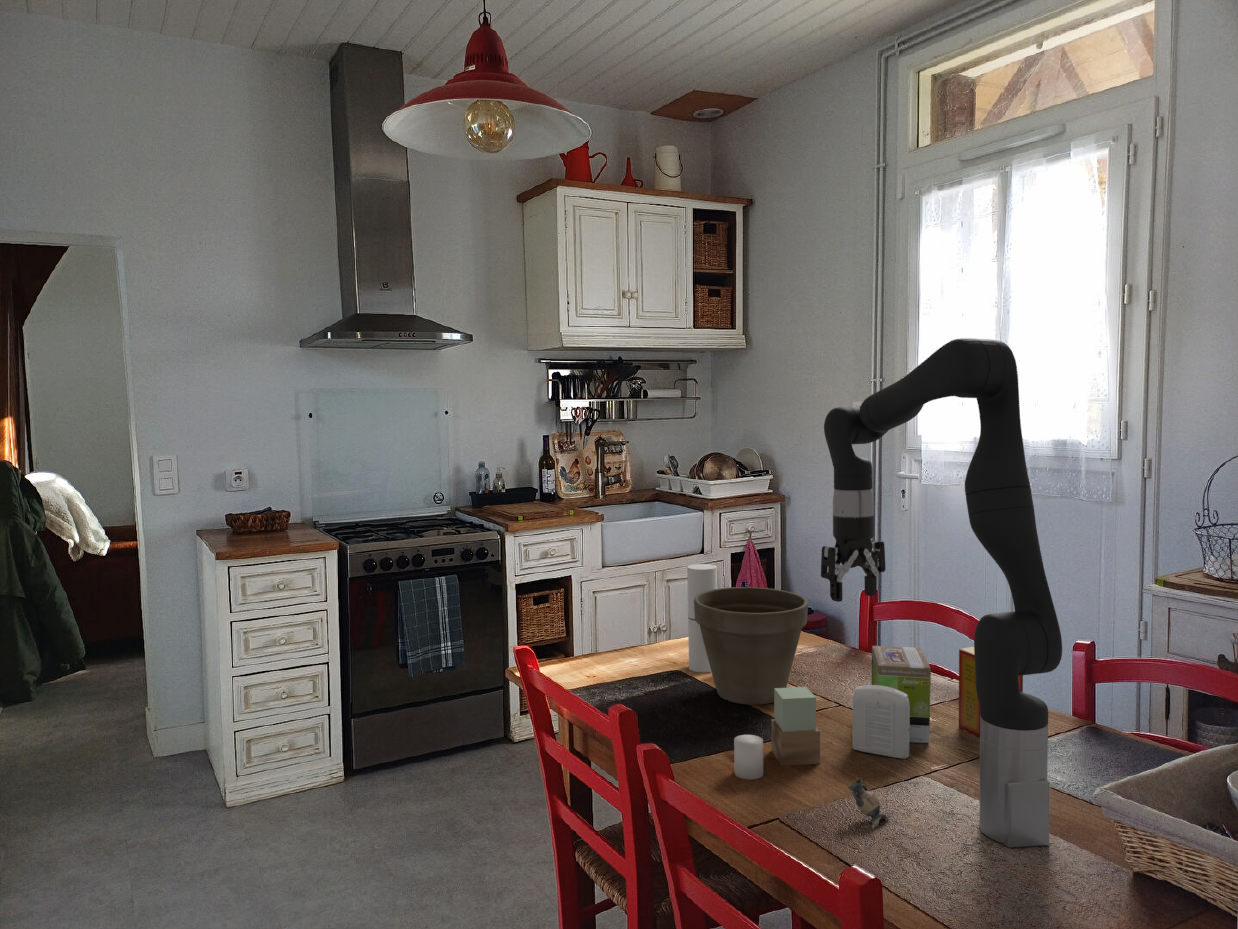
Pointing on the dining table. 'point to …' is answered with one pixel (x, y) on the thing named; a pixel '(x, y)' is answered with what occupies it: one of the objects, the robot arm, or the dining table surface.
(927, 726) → the tea box
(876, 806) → the animal figurine
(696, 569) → the cylindrical container
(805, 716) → the tower top
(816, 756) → the tower base
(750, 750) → the white cylinder peg
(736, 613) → the plant pot
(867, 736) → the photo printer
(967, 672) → the baking soda box
